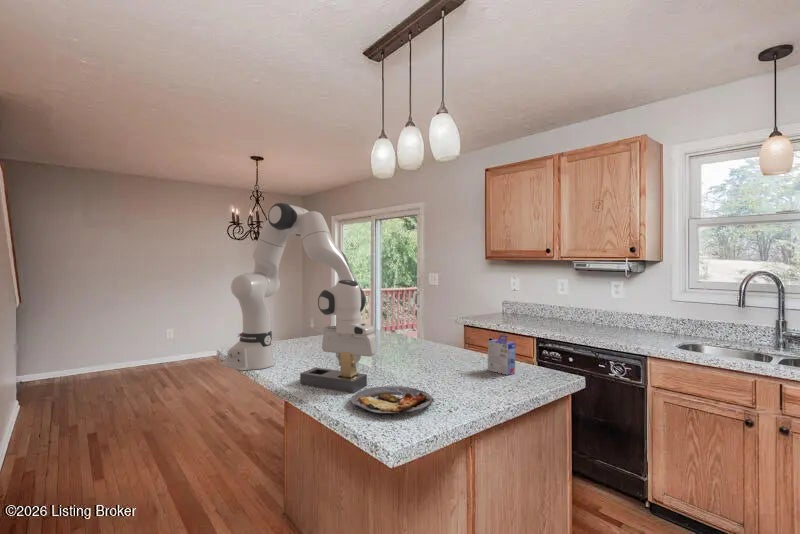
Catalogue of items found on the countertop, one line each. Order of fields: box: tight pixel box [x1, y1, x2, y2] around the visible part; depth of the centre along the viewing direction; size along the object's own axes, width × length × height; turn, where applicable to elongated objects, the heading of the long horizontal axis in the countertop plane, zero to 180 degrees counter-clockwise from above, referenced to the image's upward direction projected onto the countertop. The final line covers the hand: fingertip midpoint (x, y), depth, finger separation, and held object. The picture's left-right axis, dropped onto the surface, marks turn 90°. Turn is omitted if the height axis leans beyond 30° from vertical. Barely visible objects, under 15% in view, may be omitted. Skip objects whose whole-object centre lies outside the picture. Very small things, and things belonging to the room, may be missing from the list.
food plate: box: [350, 385, 435, 415], centre depth 125 cm, size 25×23×4 cm
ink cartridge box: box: [487, 334, 517, 376], centre depth 162 cm, size 10×6×14 cm, turn 41°
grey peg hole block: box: [299, 367, 368, 394], centre depth 143 cm, size 22×9×4 cm, turn 66°
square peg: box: [340, 352, 358, 379], centre depth 141 cm, size 4×4×10 cm
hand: (348, 366), depth 141 cm, fingers closed on square peg, 4 cm apart
